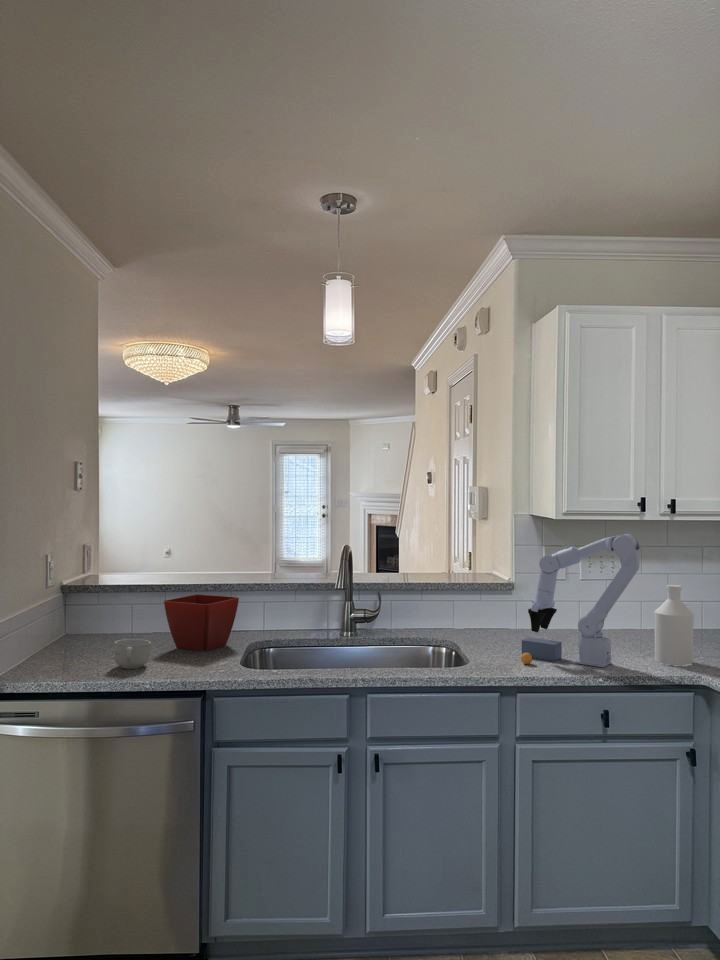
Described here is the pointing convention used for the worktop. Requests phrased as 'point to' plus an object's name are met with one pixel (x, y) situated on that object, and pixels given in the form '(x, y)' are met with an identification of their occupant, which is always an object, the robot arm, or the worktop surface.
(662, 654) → the bottle
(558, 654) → the slate blue block
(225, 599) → the plant pot
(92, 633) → the worktop surface
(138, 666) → the teacup
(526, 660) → the ball
